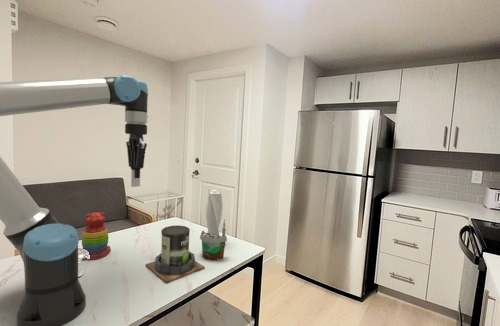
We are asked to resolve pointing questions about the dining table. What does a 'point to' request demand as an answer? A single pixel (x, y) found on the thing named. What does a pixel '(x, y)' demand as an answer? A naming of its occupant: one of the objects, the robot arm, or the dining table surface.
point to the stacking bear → (95, 236)
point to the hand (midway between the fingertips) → (135, 186)
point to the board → (173, 277)
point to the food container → (212, 246)
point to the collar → (176, 268)
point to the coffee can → (175, 245)
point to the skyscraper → (214, 212)
